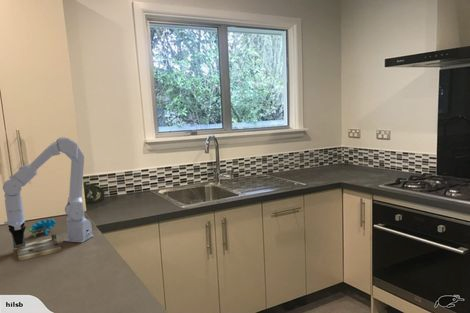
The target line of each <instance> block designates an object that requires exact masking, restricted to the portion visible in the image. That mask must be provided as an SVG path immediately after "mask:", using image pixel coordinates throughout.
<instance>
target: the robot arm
mask: <svg viewBox="0 0 470 313" xmlns="http://www.w3.org/2000/svg"><path fill="white" fill-rule="evenodd" d="M61 153H63V154H65V155H66V156H67V157H68V159H69V160H70V161H71V163H70V165H71V166H70V176H69V190H68V191H69V193H68V199H67V202H66V205H65V206H64V212H65V214H66V215H67V217H66V218H65V219H66V220H65V222H66V230H67V238H64V239H63V242H70V243H84V242H85V241H88V240H89V239H91V238H93V237H94V234H93V226H92V222H91V220H90V219H87V218H86V217H85V213H86V212H85V209H84V205H83V204H84V203H83V199H82V198H83V197H82V195H83V181H84V165H85V156H84V154H83V152H82V150H81V149H80V147H79V145H78V143H77V142H76V141H74V140H73V139H71V138H69V137H65V136H62V137H58V138H57V139H56V141H52V143H51V144H50V145H48V146H47V147H46V148H45V149H44V150H43V151H42V152H41V153H40V154H39V155H37V157H36V158H35V159H34V160H33V161H32V162H31V163H30V164H24V165H20V166H18V170H17V171H16V172H15V173H14V174H13V175H10V176H9V177H8V178H9V179H7V180H6V181H4V182H3V185H2V191H3V192H4V203H5V204H4V205H5V206H4V207H5V212H6V213H5V214H6V220H7V221H4V222H3V225H4V226H5V225H7V227H8V231H9V232H10V234H11V236H12V235H13V238H14V241H15V243H16V245H20V244H22V243H23V234H24V235H25V230H26V228H27V226H26V225H25V222H26V219H25V214H24V213H25V212H24V206H23V198H22V196H21V191H22V188H23V187H24V186H26V185H27V184H28V183H29V182H30V181H31V180H32V179H34V178H35V176H36V175H37V170H38V169H39V168H40V167H42V166H43V165H44V164H45V163H47V162H48V161H49V160H50V159H51V158H52V157H55V156H59V155H61Z"/></svg>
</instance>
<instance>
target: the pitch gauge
mask: <svg viewBox="0 0 470 313" xmlns="http://www.w3.org/2000/svg"><path fill="white" fill-rule="evenodd" d="M21 249H22V250H20V251H19V248H16V252H17V258H18V262H19V261H25V260H29V259H33V258H37V257H42V256H47V255H50V254H54V253H59V252H61V251H62V247H61V245H60V243H59V242H58V240H57V234H56V233H52V234H51V237H50V238H47V239H43V240H38V241H33V242H29V243H25V246H23V247H21Z"/></svg>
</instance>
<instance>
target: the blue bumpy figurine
mask: <svg viewBox="0 0 470 313" xmlns="http://www.w3.org/2000/svg"><path fill="white" fill-rule="evenodd" d="M56 224H57V223H56V220H55V219H53V218H51V219H50V218H46V221H45V219H41V220H40V221H36V222H35V224H32V225H31V226H32V227H29V228H28V232H29V233H30V232H31V234H32V235H33V238H36V237H37V233H38V234H39V233H42V232H43V233H44V236H48V235H49V234H48V231H47V230H52V229H53V228H52V227H55V225H56Z"/></svg>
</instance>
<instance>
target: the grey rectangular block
mask: <svg viewBox="0 0 470 313" xmlns="http://www.w3.org/2000/svg"><path fill="white" fill-rule="evenodd" d="M11 238H12V245H13V249H17V248H19V251H20V250H22V249H21V247H23V246H25V244H26V240H25V233H24V234H23V243H22V244H20V245H16V243H15V241H14V238H13V235H12V234H11Z"/></svg>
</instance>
